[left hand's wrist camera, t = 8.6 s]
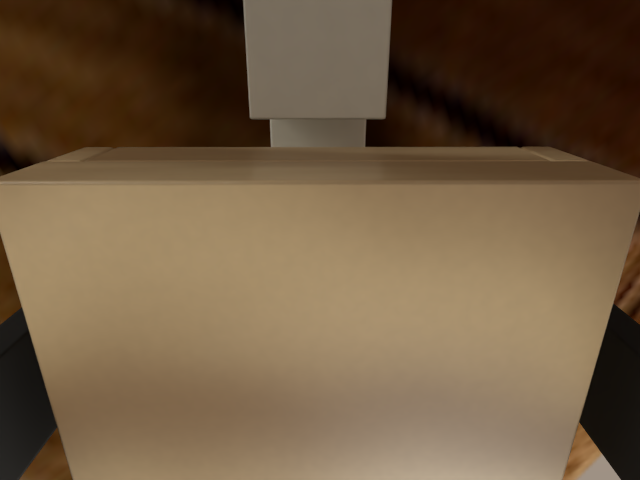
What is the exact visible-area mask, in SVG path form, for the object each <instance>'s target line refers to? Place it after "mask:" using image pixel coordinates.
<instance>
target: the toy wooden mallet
mask: <svg viewBox="0 0 640 480" xmlns="http://www.w3.org/2000/svg"><path fill="white" fill-rule="evenodd" d="M243 7H244V24H245V41H246V58H247V76H248V93H249V110H250V118H251V119H270V134H271V147H365V138H366V119H385V117H386V102H387V84H388V66H389V47H390V29H391V11H392V0H243Z"/></svg>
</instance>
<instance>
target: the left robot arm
mask: <svg viewBox="0 0 640 480" xmlns="http://www.w3.org/2000/svg"><path fill="white" fill-rule="evenodd" d="M579 423H580V424H581V425H582V427H583V428H584V429H585V431H586V432H587V433H588V435H589V436H590V438H591V439H592V440H593V442H594V443H595V444H596V446H597V447H598V449H599V450H600V451H601V453H602V454H603V455H604V457H605V458H606V460H607V461H608V462H609V464H610V465H611V466H612V468H613V469H614V471H615V472H616V473H617V475H618V476H619V477H620V479H621V480H640V325H639V324H638V323H637V322H636V321H634V320H633V319H632V318H631V317H629V316H628V315H627V314H626V313H624V312H623V311H622V310H621V309H619V308H618V307H617V306H616V305H615V304H613V306H612V309H611V313H610V316H609V320H608V323H607V327H606V330H605V334H604V337H603V341H602V344H601V347H600V351H599V354H598V358H597V361H596V365H595V368H594V372H593V375H592V379H591V382H590V386H589V389H588V393H587V396H586V400H585V403H584V407H583V410H582V413H581V417H580V420H579ZM56 428H57V424H56V421H55V417H54V414H53V411H52V407H51V404H50V400H49V397H48V394H47V390H46V387H45V383H44V380H43V377H42V373H41V370H40V366H39V363H38V360H37V356H36V353H35V349H34V346H33V343H32V339H31V336H30V332H29V329H28V325H27V322H26V319H25V315H24V312H23V308H21V309H19V310H18V311H17V312H16V313H14V314H13V315H12V316H11V317H9V318H8V319H7V320H6V321H5V322H3V323H2V324H1V325H0V480H19V479H20V477H21V476H22V475H23V473H24V472H25V471H26V469H27V468H28V466H29V465H30V464H31V462H32V461H33V460H34V458H35V457H36V455H37V454H38V453H39V451H40V450H41V449H42V447H43V446H44V445H45V443H46V442H47V440H48V439H49V438H50V436H51V435H52V434H53V432H54V431H55V429H56Z"/></svg>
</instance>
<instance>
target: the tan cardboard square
mask: <svg viewBox="0 0 640 480" xmlns="http://www.w3.org/2000/svg"><path fill="white" fill-rule="evenodd" d="M639 212H640V178H637V177H634V176H632V175H629V174H626V173H623V172H620V171H617V170H614V169H612V168H609V167H606V166H603V165H600V164H597V163H594V162H592V161H588V160H586V159H583V158H580V157H577V156H574V155H571V154H568V153H566V152H563V151H560V150H557V149H554V148H551V147H522V148H518V147H118V148H115V149H114V148H111V147H85V148H82V149H79V150H76V151H74V152H71V153H68V154H65V155H62V156H59V157H56V158H54V159H51V160H48V161H46V162H41V163H38V164H35V165H32V166H30V167H27V168H24V169H21V170H18V171H15V172H12V173H9V174H7V175H4V176H1V177H0V234H1V237H2V240H3V244H4V247H5V251H6V254H7V257H8V261H9V264H10V268H11V271H12V274H13V278H14V281H15V285H16V288H17V291H18V295H19V298H20V302H21V305H22V308H23V312H24V315H25V319H26V322H27V325H28V329H29V332H30V336H31V339H32V343H33V346H34V349H35V353H36V356H37V360H38V363H39V366H40V370H41V373H42V377H43V380H44V383H45V387H46V390H47V394H48V397H49V400H50V404H51V407H52V411H53V414H54V417H55V421H56V424H57V428H58V431H59V434H60V438H61V441H62V445H63V448H64V451H65V455H66V458H67V462H68V465H69V469H70V472H71V475H72V479H73V480H562V479H563V476H564V473H565V469H566V466H567V462H568V459H569V455H570V452H571V448H572V445H573V441H574V438H575V434H576V431H577V427H578V424H579V420H580V417H581V413H582V410H583V407H584V403H585V400H586V396H587V393H588V389H589V386H590V382H591V379H592V375H593V372H594V368H595V365H596V361H597V358H598V354H599V351H600V347H601V344H602V341H603V337H604V334H605V330H606V327H607V323H608V320H609V316H610V313H611V309H612V306H613V302H614V299H615V295H616V292H617V288H618V285H619V281H620V278H621V275H622V271H623V268H624V264H625V261H626V257H627V254H628V250H629V247H630V243H631V240H632V236H633V233H634V229H635V226H636V222H637V219H638V215H639Z"/></svg>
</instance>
